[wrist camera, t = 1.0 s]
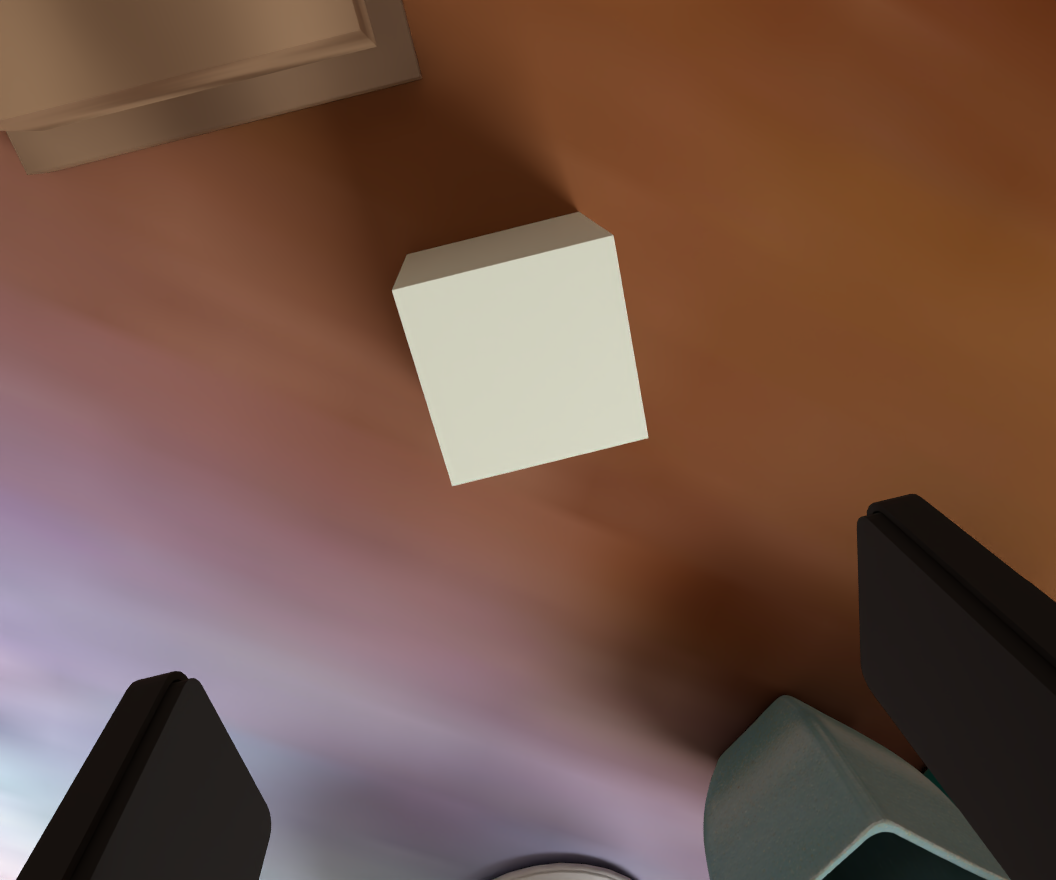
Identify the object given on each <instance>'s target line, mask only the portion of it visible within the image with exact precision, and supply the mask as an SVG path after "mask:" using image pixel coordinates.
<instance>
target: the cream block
mask: <svg viewBox="0 0 1056 880" xmlns="http://www.w3.org/2000/svg"><path fill="white" fill-rule="evenodd" d="M392 293H393V296H394V299H395V302H396V305H397V309H398V312H399V315H400V318H401V322H402V325H403V328H404V331H405V335H406V338H407V341H408V344H409V348H410V351H411V354H412V357H413V360H414V364H415V367H416V370H417V373H418V377H419V380H420V383H421V386H422V390H423V393H424V396H425V399H426V402H427V406H428V409H429V412H430V415H431V419H432V422H433V425H434V428H435V432H436V435H437V438H438V441H439V445H440V448H441V451H442V454H443V457H444V461H445V464H446V467H447V470H448V474H449V477H450V480H451V483H452V486H455V485H459V484H463V483H467V482H471V481H475V480H479V479H483V478H488V477H492V476H496V475H500V474H504V473H508V472H512V471H516V470H520V469H524V468H528V467H532V466H536V465H540V464H545V463H549V462H553V461H557V460H561V459H565V458H569V457H573V456H577V455H581V454H585V453H589V452H593V451H597V450H601V449H606V448H610V447H614V446H618V445H622V444H626V443H630V442H634V441H638V440H642V439H646V438H648V433H647V427H646V421H645V416H644V410H643V404H642V398H641V392H640V386H639V381H638V375H637V369H636V363H635V357H634V352H633V346H632V340H631V334H630V328H629V323H628V317H627V311H626V305H625V299H624V294H623V288H622V282H621V276H620V270H619V265H618V259H617V253H616V247H615V241H614V236H613V235H612V234H611V233H609V232H608V231H607V230H605V229H604V228H602V227H601V226H599V225H598V224H596V223H595V222H593V221H592V220H590V219H589V218H587V217H586V216H584V215H583V214H581V213H580V212H576V213H571V214H567V215H563V216H559V217H555V218H551V219H547V220H543V221H539V222H535V223H531V224H527V225H523V226H519V227H515V228H511V229H507V230H503V231H499V232H495V233H491V234H487V235H483V236H479V237H475V238H471V239H467V240H463V241H459V242H455V243H451V244H447V245H443V246H439V247H435V248H431V249H427V250H423V251H419V252H415V253H411V254H407V255H406V258H405V260H404V263H403V265H402V267H401V270H400V272H399V274H398V277H397V279H396V282H395V284H394V286H393V289H392Z"/></svg>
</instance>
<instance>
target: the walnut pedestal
mask: <svg viewBox="0 0 1056 880" xmlns="http://www.w3.org/2000/svg"><path fill="white" fill-rule="evenodd" d="M420 79H422V75H421V71H420V68H419V64H418V60H417V56H416V52H415V48H414V44H413V40H412V37H411V33H410V29H409V25H408V21H407V17H406V13H405V9H404V6H403V2H402V0H0V131H6V133H7V135H8V137H9V139H10V141H11V143H12V145H13V147H14V149H15V151H16V153H17V155H18V157H19V159H20V161H21V163H22V165H23V167H24V169H25V171H26V173H27V175H31V174H41V173H49V172H53V171H57V170H61V169H65V168H69V167H73V166H77V165H81V164H85V163H89V162H93V161H97V160H101V159H105V158H109V157H113V156H117V155H121V154H125V153H129V152H133V151H137V150H141V149H145V148H149V147H153V146H157V145H161V144H165V143H169V142H173V141H177V140H181V139H185V138H189V137H193V136H197V135H201V134H205V133H209V132H213V131H217V130H221V129H225V128H229V127H233V126H237V125H241V124H245V123H249V122H253V121H257V120H261V119H265V118H269V117H273V116H277V115H281V114H285V113H288V112H292V111H296V110H300V109H304V108H308V107H312V106H316V105H320V104H324V103H328V102H332V101H336V100H340V99H344V98H348V97H352V96H356V95H360V94H364V93H368V92H372V91H376V90H380V89H384V88H388V87H392V86H396V85H400V84H404V83H408V82H412V81H416V80H420Z"/></svg>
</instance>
